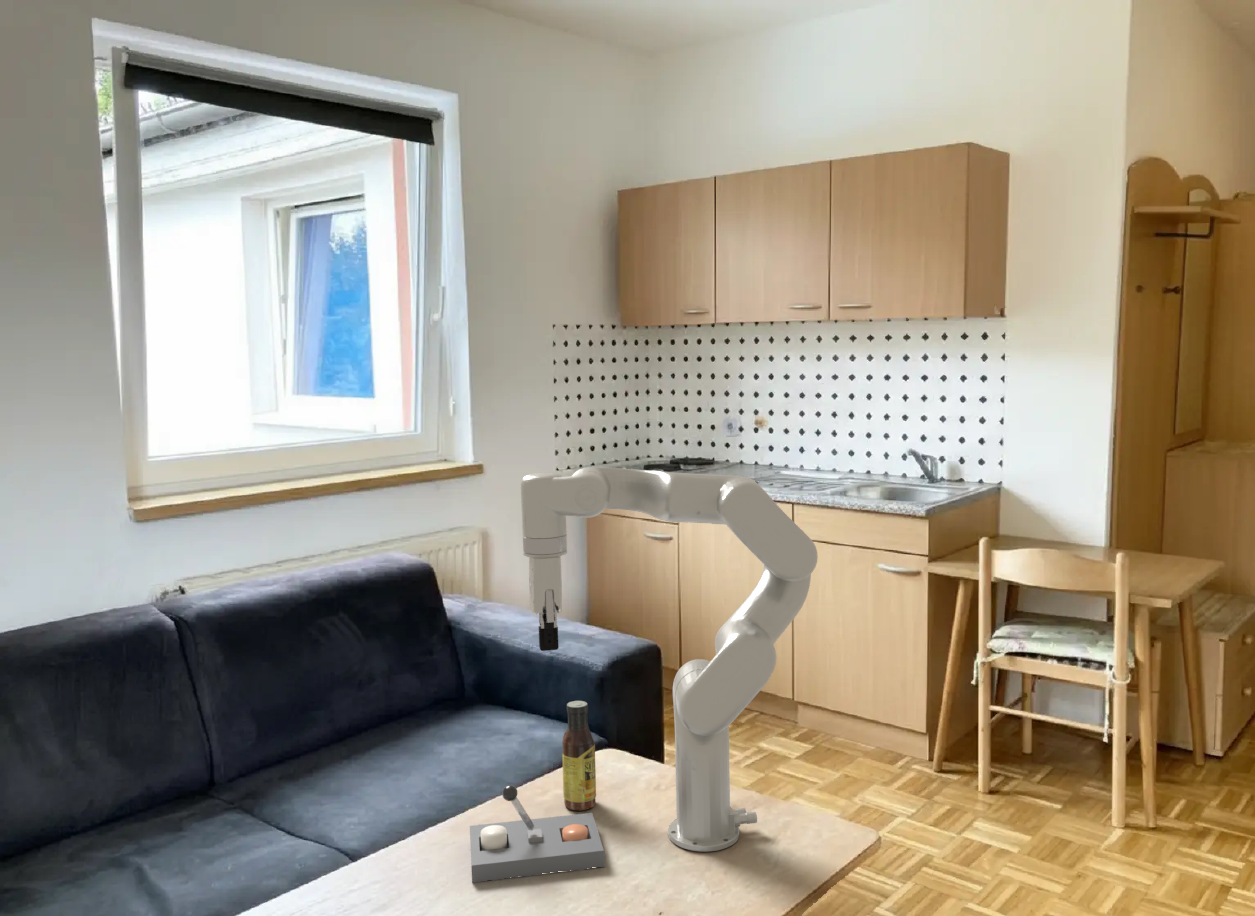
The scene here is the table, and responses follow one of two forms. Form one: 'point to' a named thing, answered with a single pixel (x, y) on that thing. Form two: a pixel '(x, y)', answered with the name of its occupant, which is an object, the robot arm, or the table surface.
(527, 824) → the toggle lever
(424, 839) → the table surface
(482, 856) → the control panel
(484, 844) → the offwhite button
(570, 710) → the sauce bottle
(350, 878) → the table surface
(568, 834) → the terracotta button
